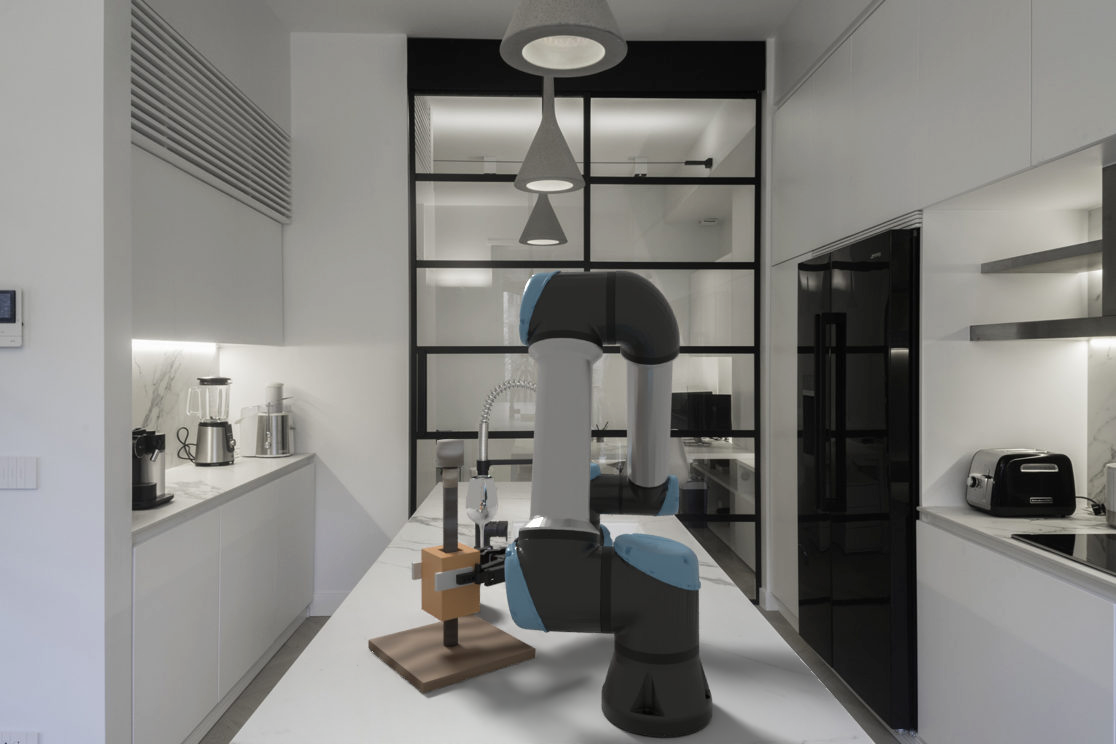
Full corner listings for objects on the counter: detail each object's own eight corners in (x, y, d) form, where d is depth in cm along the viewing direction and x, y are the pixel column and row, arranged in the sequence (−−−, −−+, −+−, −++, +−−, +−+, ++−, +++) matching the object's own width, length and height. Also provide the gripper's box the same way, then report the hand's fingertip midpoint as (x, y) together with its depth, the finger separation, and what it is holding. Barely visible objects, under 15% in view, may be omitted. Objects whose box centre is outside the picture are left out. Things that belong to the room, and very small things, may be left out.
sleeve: (480, 611, 115) (479, 550, 115) (441, 621, 111) (441, 558, 111) (458, 600, 121) (458, 542, 121) (421, 609, 117) (421, 548, 117)
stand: (535, 657, 114) (535, 442, 114) (423, 693, 102) (422, 451, 102) (472, 621, 130) (471, 432, 130) (368, 648, 118) (367, 439, 117)
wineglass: (504, 558, 172) (504, 476, 172) (484, 566, 166) (484, 481, 165) (479, 553, 176) (479, 473, 176) (458, 561, 170) (458, 478, 169)
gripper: (574, 588, 119) (455, 617, 105) (507, 563, 135) (396, 585, 121) (574, 544, 119) (455, 566, 105) (507, 524, 135) (396, 541, 121)
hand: (424, 576), depth 113 cm, fingers closed on sleeve, 7 cm apart
